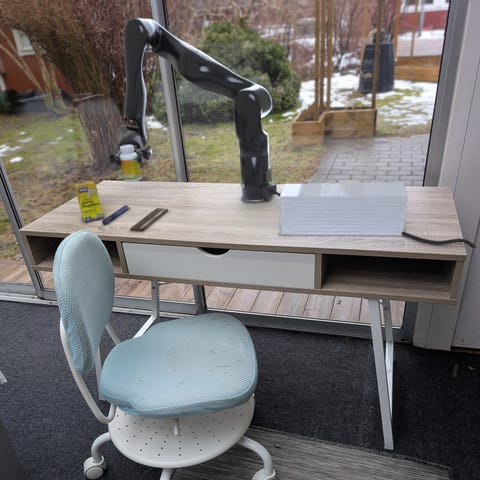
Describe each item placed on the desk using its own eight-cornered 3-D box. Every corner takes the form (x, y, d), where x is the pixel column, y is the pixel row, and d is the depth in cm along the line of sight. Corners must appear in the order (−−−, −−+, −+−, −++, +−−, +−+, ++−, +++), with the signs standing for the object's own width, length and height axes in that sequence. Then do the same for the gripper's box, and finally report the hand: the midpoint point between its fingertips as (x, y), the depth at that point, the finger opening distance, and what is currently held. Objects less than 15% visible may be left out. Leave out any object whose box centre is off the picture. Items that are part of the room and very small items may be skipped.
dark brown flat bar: (156, 210, 153) (156, 207, 153) (168, 210, 152) (167, 208, 152) (130, 230, 140) (130, 228, 140) (142, 231, 139) (142, 228, 138)
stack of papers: (398, 220, 133) (403, 182, 127) (402, 235, 124) (408, 195, 118) (284, 220, 138) (283, 183, 133) (280, 234, 130) (279, 196, 124)
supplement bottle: (138, 182, 141) (131, 148, 136) (121, 182, 142) (114, 148, 137) (144, 176, 145) (138, 143, 140) (128, 176, 147) (121, 144, 141)
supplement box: (85, 223, 148) (76, 188, 142) (82, 217, 153) (73, 183, 147) (104, 218, 150) (96, 184, 144) (100, 213, 155) (92, 180, 149)
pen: (125, 208, 157) (124, 203, 156) (130, 209, 156) (129, 204, 155) (101, 225, 145) (100, 220, 144) (106, 225, 145) (105, 220, 144)
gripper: (105, 137, 150) (100, 150, 136) (151, 133, 151) (151, 145, 137) (110, 162, 154) (106, 177, 140) (155, 157, 155) (155, 171, 141)
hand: (128, 161), depth 138 cm, fingers closed on supplement bottle, 5 cm apart
